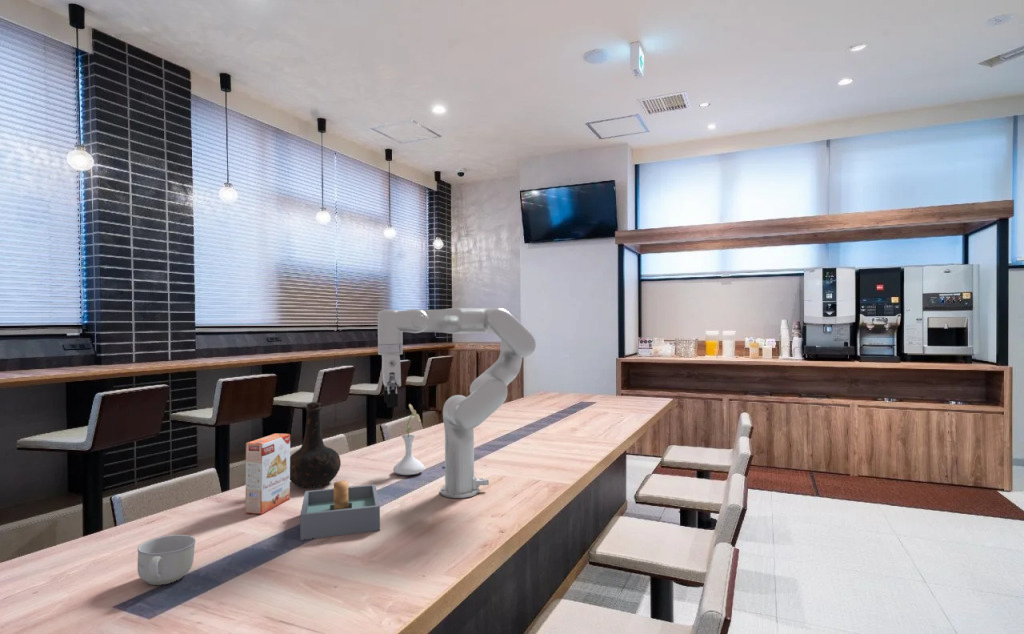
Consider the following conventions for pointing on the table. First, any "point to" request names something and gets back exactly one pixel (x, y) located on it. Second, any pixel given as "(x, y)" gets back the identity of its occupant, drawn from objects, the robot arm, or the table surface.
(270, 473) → the cracker box
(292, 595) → the table surface
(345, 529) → the bore box
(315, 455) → the dark brown vase
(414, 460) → the flower in vase
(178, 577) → the teacup
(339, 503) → the peg
